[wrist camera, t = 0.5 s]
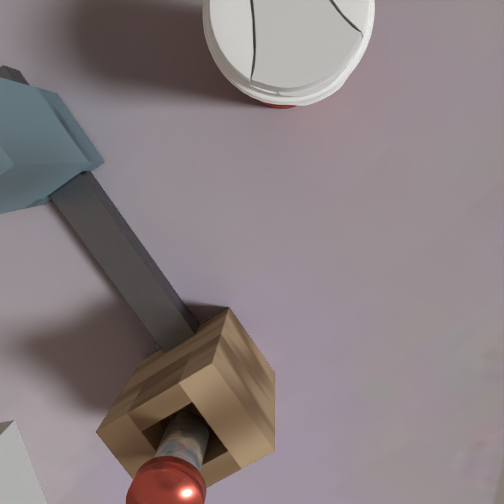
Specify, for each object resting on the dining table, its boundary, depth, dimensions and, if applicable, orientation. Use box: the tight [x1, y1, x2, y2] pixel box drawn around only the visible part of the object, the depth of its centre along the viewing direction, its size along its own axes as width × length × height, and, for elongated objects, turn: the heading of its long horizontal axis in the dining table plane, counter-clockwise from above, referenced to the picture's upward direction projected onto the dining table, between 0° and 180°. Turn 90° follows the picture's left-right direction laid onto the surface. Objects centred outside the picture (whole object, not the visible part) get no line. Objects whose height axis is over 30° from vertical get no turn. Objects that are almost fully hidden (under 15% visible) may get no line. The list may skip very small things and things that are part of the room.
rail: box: [0, 65, 200, 353], centre depth 34 cm, size 24×3×2 cm, turn 33°
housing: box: [96, 308, 275, 488], centre depth 33 cm, size 7×9×10 cm
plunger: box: [126, 412, 209, 504], centre depth 26 cm, size 4×4×6 cm
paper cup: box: [203, 0, 375, 109], centre depth 25 cm, size 8×8×14 cm
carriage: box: [0, 77, 105, 214], centre depth 28 cm, size 6×6×12 cm
